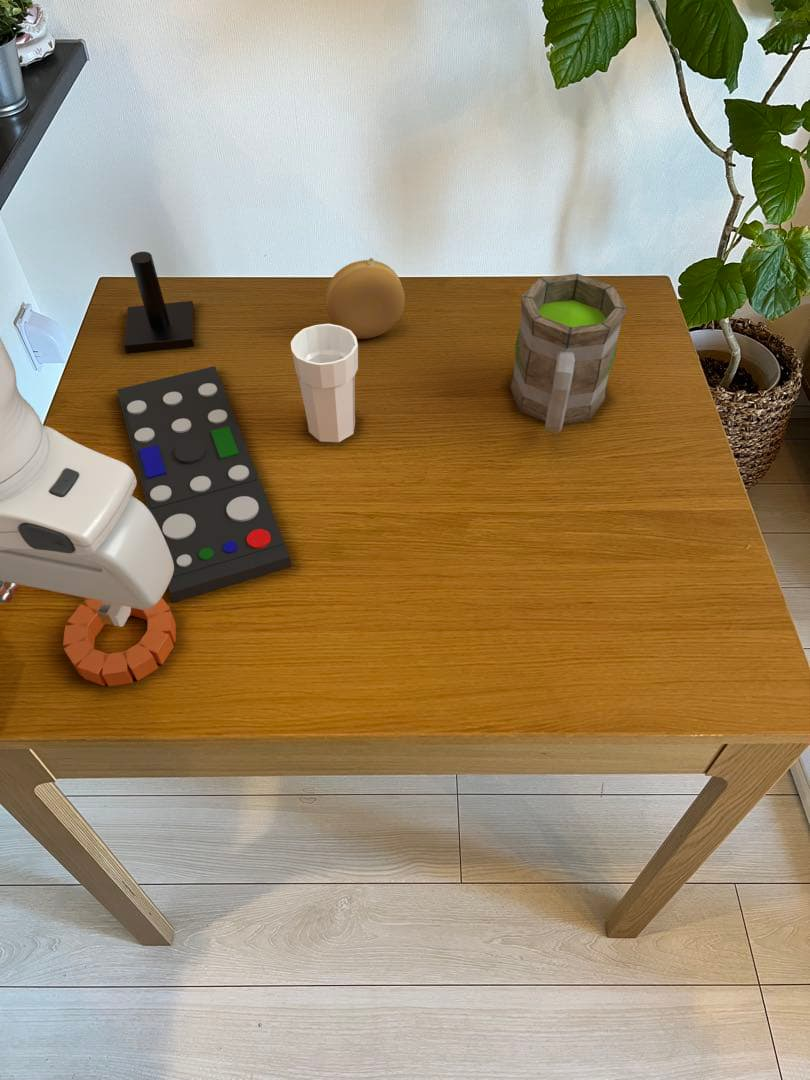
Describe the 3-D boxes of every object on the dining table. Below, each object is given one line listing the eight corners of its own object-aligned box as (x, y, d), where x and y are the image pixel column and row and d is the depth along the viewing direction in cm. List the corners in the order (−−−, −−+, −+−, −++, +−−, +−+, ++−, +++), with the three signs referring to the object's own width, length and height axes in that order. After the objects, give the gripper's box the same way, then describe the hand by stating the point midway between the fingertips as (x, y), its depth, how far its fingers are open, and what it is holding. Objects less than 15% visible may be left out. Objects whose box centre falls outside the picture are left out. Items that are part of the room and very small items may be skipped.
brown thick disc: (400, 319, 101) (399, 246, 93) (407, 337, 99) (407, 263, 91) (326, 331, 99) (319, 257, 92) (332, 349, 97) (325, 275, 89)
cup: (321, 400, 91) (312, 317, 83) (373, 417, 89) (369, 334, 81) (290, 436, 87) (278, 353, 79) (344, 454, 85) (337, 372, 77)
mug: (515, 358, 96) (526, 267, 87) (607, 370, 94) (628, 279, 85) (498, 448, 86) (509, 357, 77) (600, 462, 85) (623, 371, 75)
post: (126, 353, 97) (102, 279, 89) (130, 314, 102) (107, 241, 94) (194, 346, 97) (175, 272, 90) (194, 308, 102) (177, 235, 95)
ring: (65, 692, 67) (57, 680, 66) (76, 605, 73) (69, 592, 71) (175, 677, 68) (169, 665, 67) (176, 592, 74) (171, 579, 72)
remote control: (173, 602, 73) (168, 589, 72) (120, 399, 91) (115, 385, 90) (291, 566, 76) (289, 553, 74) (217, 376, 94) (214, 362, 92)
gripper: (-190, 488, 50) (-84, 613, 61) (109, 546, 47) (166, 667, 58) (-125, 421, 54) (-36, 550, 65) (156, 470, 51) (201, 597, 61)
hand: (61, 606), depth 61 cm, fingers open, 8 cm apart
